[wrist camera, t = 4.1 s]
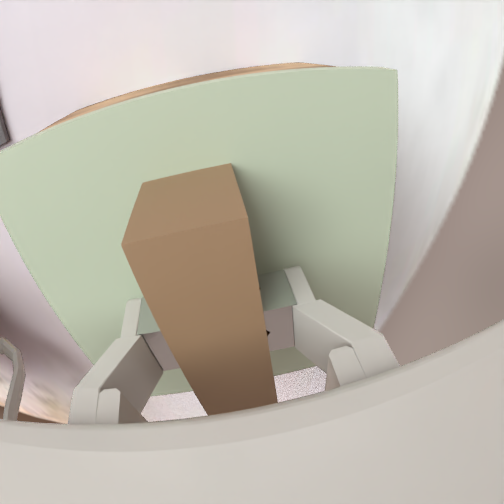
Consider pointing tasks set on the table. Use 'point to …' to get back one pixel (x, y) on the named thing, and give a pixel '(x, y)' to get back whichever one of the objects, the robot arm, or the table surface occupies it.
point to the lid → (211, 216)
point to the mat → (3, 130)
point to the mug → (13, 379)
